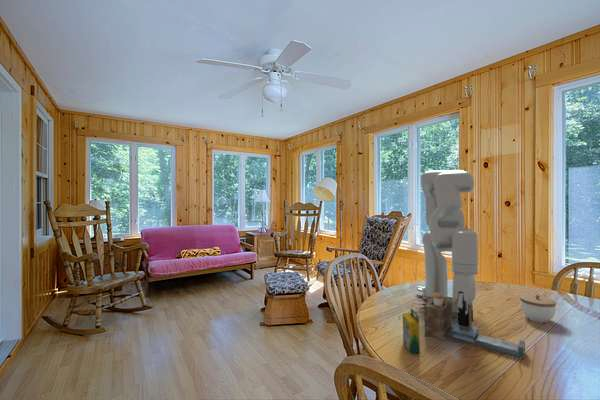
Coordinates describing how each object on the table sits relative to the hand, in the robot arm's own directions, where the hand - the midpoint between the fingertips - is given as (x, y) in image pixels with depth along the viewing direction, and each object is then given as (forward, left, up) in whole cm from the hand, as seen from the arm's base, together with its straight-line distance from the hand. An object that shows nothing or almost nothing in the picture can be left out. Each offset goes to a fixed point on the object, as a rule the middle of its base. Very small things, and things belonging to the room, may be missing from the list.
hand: (465, 322), depth 98 cm
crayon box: (-11, -17, -6) cm, 21 cm away
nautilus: (-14, +17, -6) cm, 23 cm away
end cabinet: (-8, 0, -6) cm, 10 cm away
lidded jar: (+17, +36, -6) cm, 40 cm away
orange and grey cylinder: (-8, 0, +1) cm, 9 cm away
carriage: (0, 0, -4) cm, 4 cm away
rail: (+5, 0, -6) cm, 8 cm away
